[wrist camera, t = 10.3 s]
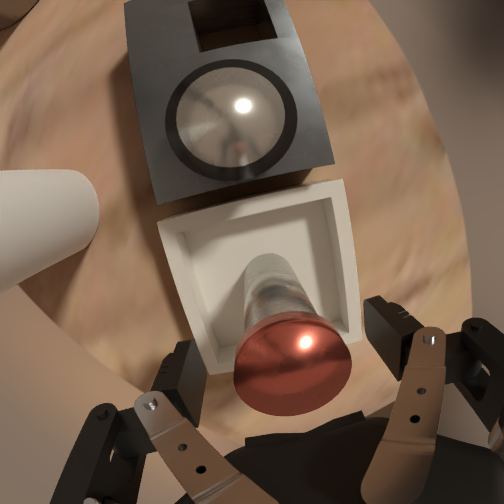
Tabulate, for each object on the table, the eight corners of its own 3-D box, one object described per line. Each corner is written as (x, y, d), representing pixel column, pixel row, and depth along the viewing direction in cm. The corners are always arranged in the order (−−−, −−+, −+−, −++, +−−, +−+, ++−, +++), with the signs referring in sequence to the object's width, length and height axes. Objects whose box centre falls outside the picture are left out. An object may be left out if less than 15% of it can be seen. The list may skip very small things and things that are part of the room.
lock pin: (246, 310, 21) (249, 424, 10) (231, 255, 20) (218, 342, 9) (303, 297, 21) (352, 399, 10) (292, 241, 20) (348, 312, 9)
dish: (212, 353, 23) (209, 375, 20) (168, 216, 20) (156, 222, 17) (349, 322, 22) (362, 339, 19) (328, 178, 19) (342, 178, 16)
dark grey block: (178, 199, 19) (136, 211, 11) (144, 32, 16) (106, -20, 8) (313, 168, 19) (357, 160, 11) (264, 4, 15) (272, -60, 7)
